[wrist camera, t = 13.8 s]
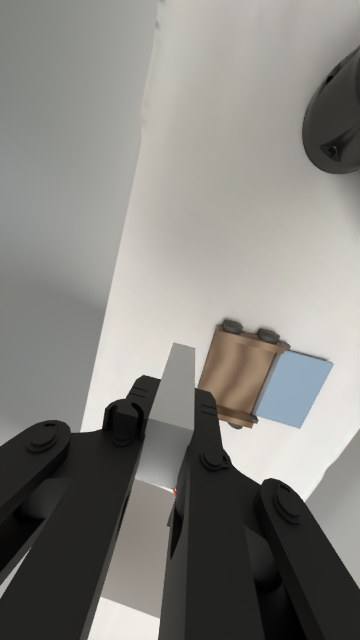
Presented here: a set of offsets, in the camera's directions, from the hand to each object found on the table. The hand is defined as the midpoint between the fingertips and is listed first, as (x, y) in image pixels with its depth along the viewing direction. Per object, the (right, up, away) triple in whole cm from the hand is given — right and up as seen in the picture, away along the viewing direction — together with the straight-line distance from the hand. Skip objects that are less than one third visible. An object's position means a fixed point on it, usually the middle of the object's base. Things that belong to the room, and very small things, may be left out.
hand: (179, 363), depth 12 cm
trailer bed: (+14, -10, +32) cm, 36 cm away
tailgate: (+21, -12, +31) cm, 39 cm away
